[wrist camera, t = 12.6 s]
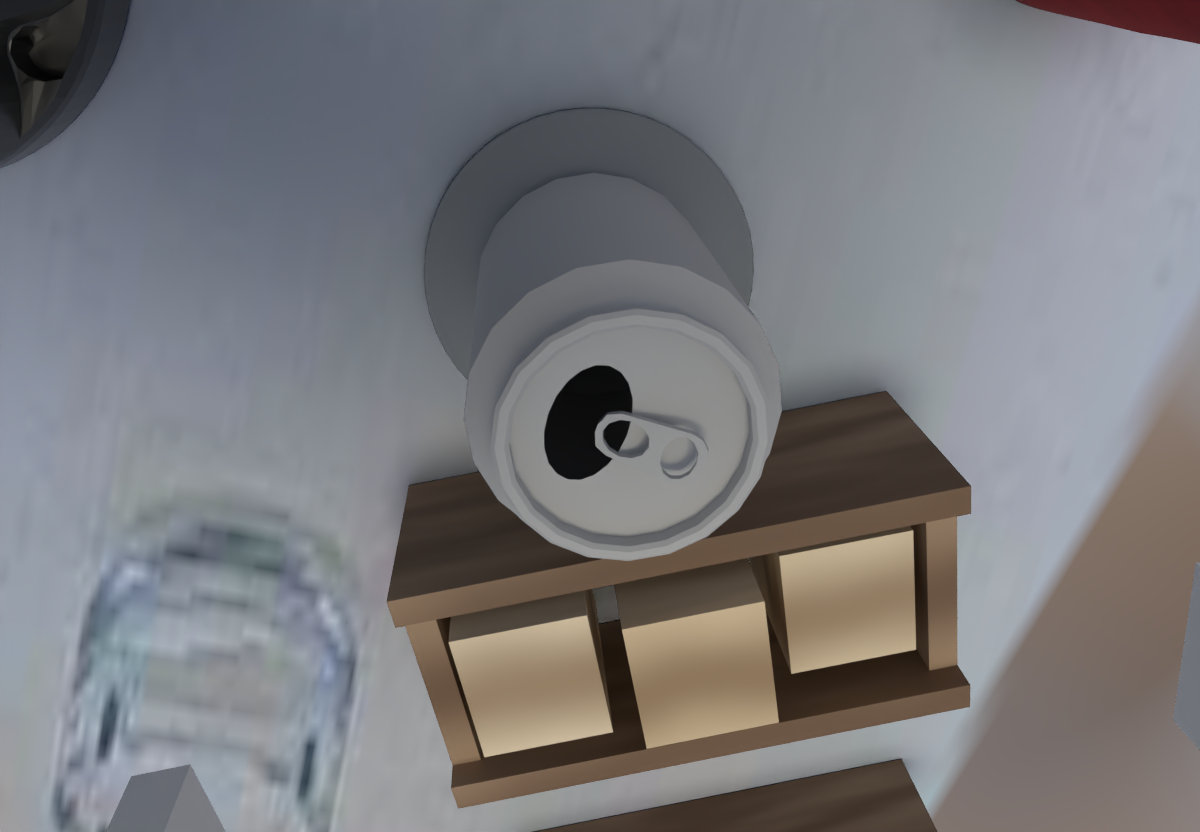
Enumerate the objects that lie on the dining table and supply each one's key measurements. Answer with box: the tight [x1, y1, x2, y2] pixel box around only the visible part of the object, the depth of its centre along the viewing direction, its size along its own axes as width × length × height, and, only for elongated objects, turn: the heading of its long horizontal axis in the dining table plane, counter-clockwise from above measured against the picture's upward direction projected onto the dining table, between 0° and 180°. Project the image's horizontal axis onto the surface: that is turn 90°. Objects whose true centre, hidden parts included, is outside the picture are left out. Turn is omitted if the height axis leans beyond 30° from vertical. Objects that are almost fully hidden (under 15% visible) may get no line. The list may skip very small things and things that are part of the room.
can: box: [464, 173, 782, 561], centre depth 26 cm, size 8×8×12 cm
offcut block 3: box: [749, 526, 916, 674], centre depth 34 cm, size 5×4×6 cm
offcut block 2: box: [614, 558, 779, 749], centre depth 33 cm, size 5×4×8 cm
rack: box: [387, 391, 971, 832], centre depth 36 cm, size 20×18×7 cm
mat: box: [424, 108, 754, 380], centre depth 31 cm, size 11×11×1 cm
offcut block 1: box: [449, 589, 613, 757], centre depth 33 cm, size 5×4×7 cm
